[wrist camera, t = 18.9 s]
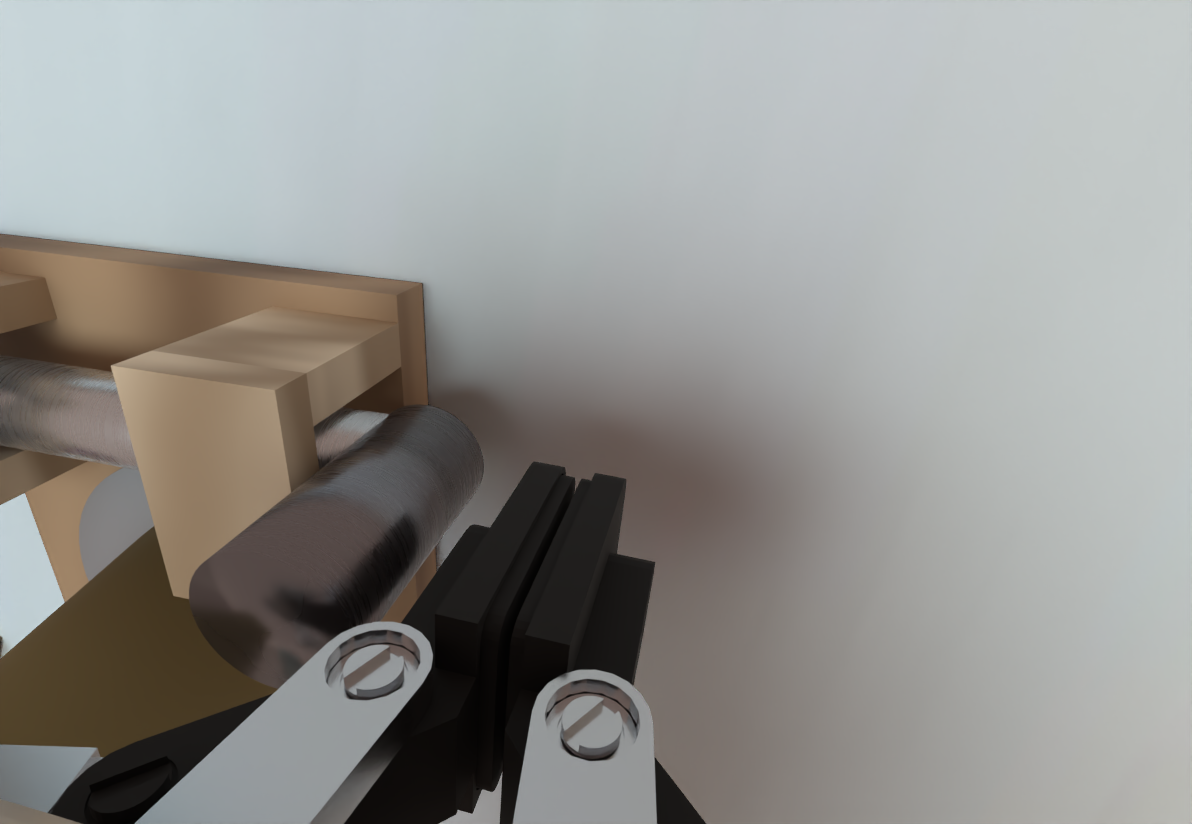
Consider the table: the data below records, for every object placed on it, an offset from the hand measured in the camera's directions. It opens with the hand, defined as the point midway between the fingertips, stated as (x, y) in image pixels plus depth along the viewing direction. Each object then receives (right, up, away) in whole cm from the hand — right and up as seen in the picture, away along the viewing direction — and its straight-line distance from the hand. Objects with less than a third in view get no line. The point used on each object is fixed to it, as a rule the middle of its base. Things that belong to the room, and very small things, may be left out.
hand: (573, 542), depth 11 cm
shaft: (-9, +2, +3) cm, 10 cm away
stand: (-10, 0, +7) cm, 12 cm away
